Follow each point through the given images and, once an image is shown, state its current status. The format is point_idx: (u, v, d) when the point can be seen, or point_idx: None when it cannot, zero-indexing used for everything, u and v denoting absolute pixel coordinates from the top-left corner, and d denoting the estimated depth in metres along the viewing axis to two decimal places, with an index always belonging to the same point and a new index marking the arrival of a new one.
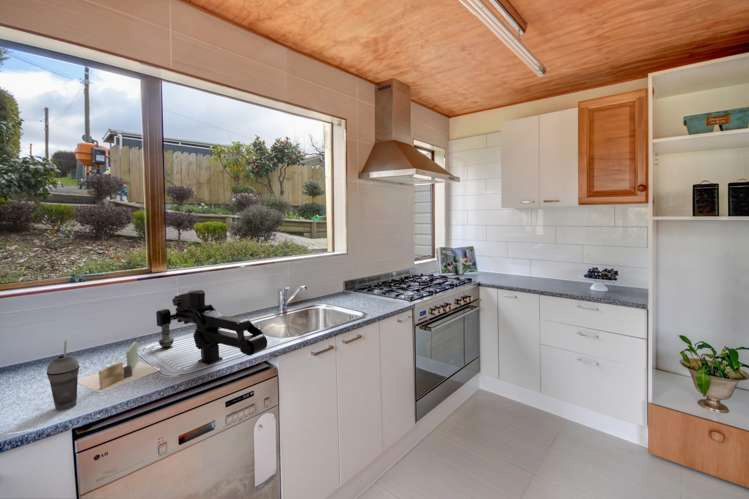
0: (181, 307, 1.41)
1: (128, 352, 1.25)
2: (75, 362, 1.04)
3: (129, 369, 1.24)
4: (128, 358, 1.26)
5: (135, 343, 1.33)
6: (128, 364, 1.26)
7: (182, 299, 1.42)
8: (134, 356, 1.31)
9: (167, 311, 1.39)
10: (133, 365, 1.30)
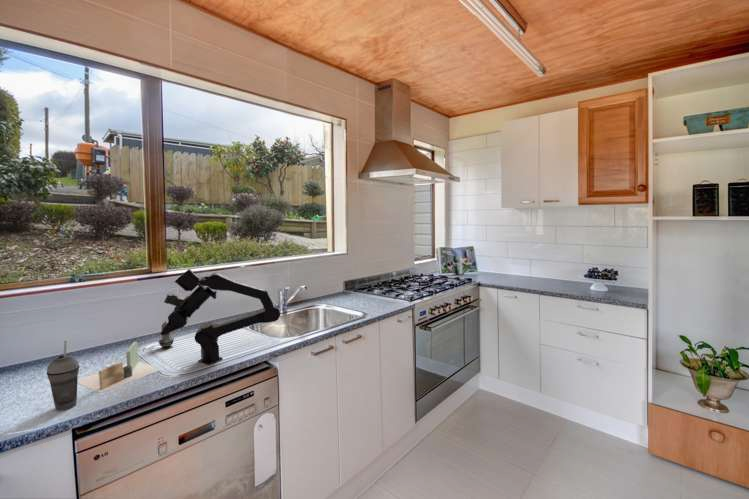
0: (181, 301, 1.32)
1: (128, 352, 1.25)
2: (75, 362, 1.04)
3: (129, 369, 1.24)
4: (128, 358, 1.26)
5: (135, 343, 1.33)
6: (128, 364, 1.26)
7: None
8: (134, 356, 1.31)
9: (176, 310, 1.28)
10: (133, 365, 1.30)
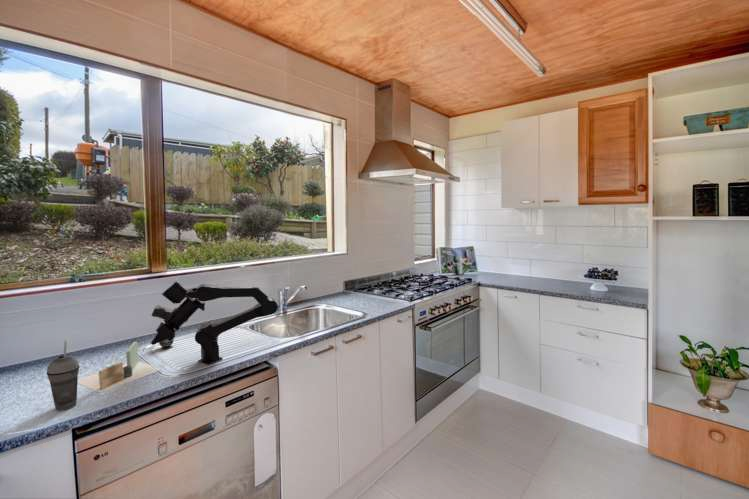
0: (168, 313, 1.30)
1: (128, 352, 1.25)
2: (75, 362, 1.04)
3: (129, 369, 1.24)
4: (128, 358, 1.26)
5: (135, 343, 1.33)
6: (128, 364, 1.26)
7: None
8: (134, 356, 1.31)
9: (164, 324, 1.26)
10: (133, 365, 1.30)
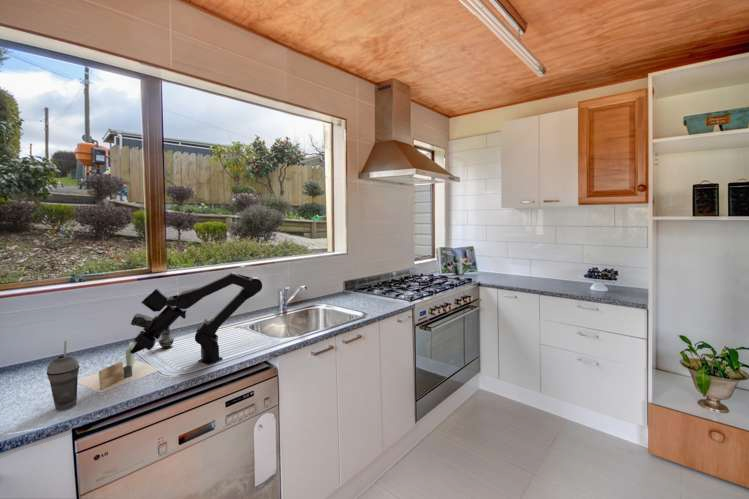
0: (148, 322, 1.28)
1: (128, 352, 1.25)
2: (75, 362, 1.04)
3: (129, 369, 1.24)
4: (128, 358, 1.26)
5: (132, 343, 1.33)
6: (127, 364, 1.26)
7: (140, 317, 1.28)
8: (132, 356, 1.31)
9: (142, 333, 1.24)
10: (131, 365, 1.30)
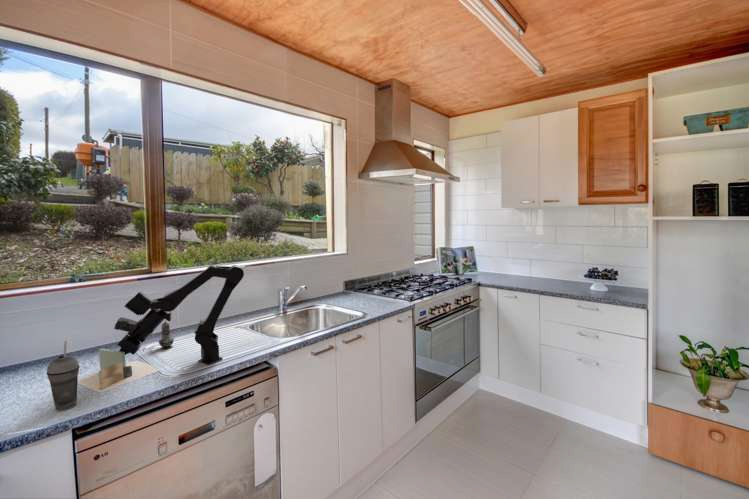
0: (132, 326, 1.26)
1: (123, 353, 1.25)
2: (75, 362, 1.04)
3: (129, 369, 1.24)
4: (123, 359, 1.25)
5: (107, 349, 1.27)
6: (123, 365, 1.25)
7: None
8: None
9: (126, 337, 1.22)
10: None
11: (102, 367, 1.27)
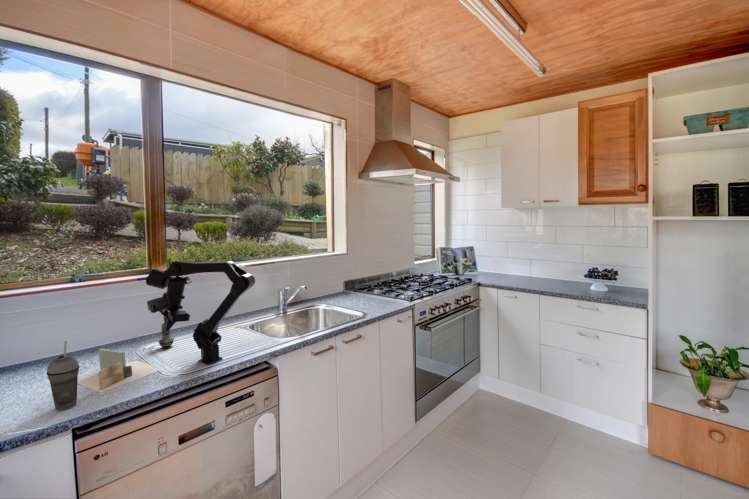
0: (166, 302, 1.33)
1: (123, 353, 1.25)
2: (75, 362, 1.04)
3: (129, 369, 1.24)
4: (123, 359, 1.25)
5: (107, 349, 1.27)
6: (123, 365, 1.25)
7: (156, 303, 1.31)
8: None
9: (172, 312, 1.32)
10: None
11: (102, 367, 1.27)
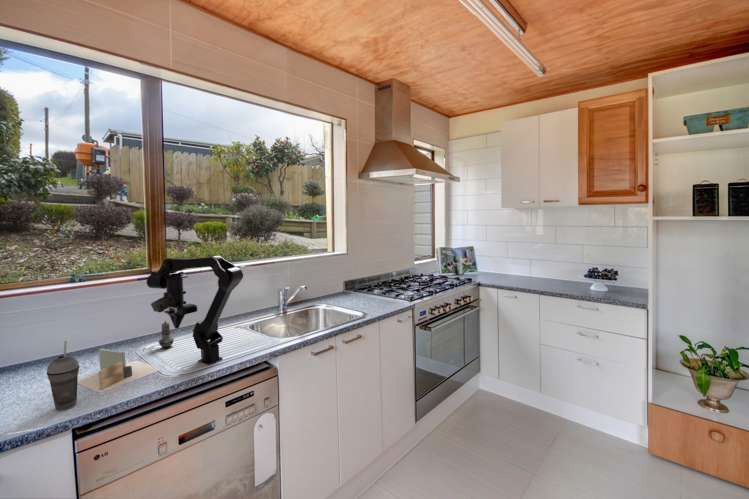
0: (170, 299, 1.36)
1: (123, 353, 1.25)
2: (75, 362, 1.04)
3: (129, 369, 1.24)
4: (123, 359, 1.25)
5: (107, 349, 1.27)
6: (123, 365, 1.25)
7: (161, 302, 1.33)
8: None
9: (180, 307, 1.35)
10: None
11: (102, 367, 1.27)
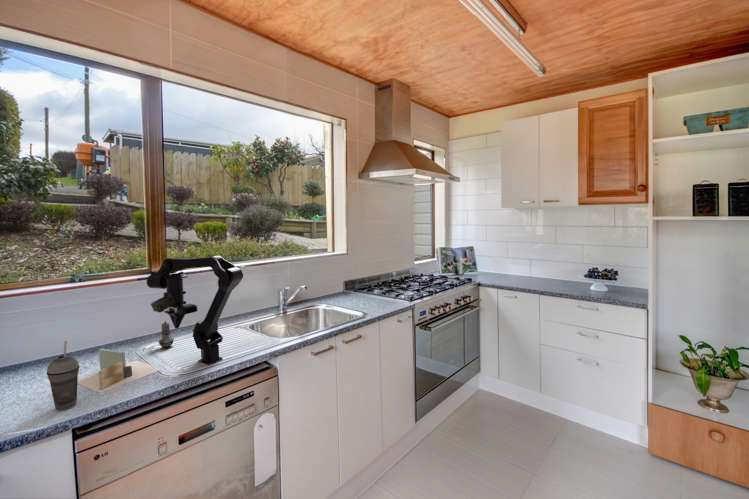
0: (170, 299, 1.36)
1: (123, 353, 1.25)
2: (75, 362, 1.04)
3: (129, 369, 1.24)
4: (123, 359, 1.25)
5: (107, 349, 1.27)
6: (123, 365, 1.25)
7: (161, 302, 1.33)
8: None
9: (180, 307, 1.35)
10: None
11: (102, 367, 1.27)
